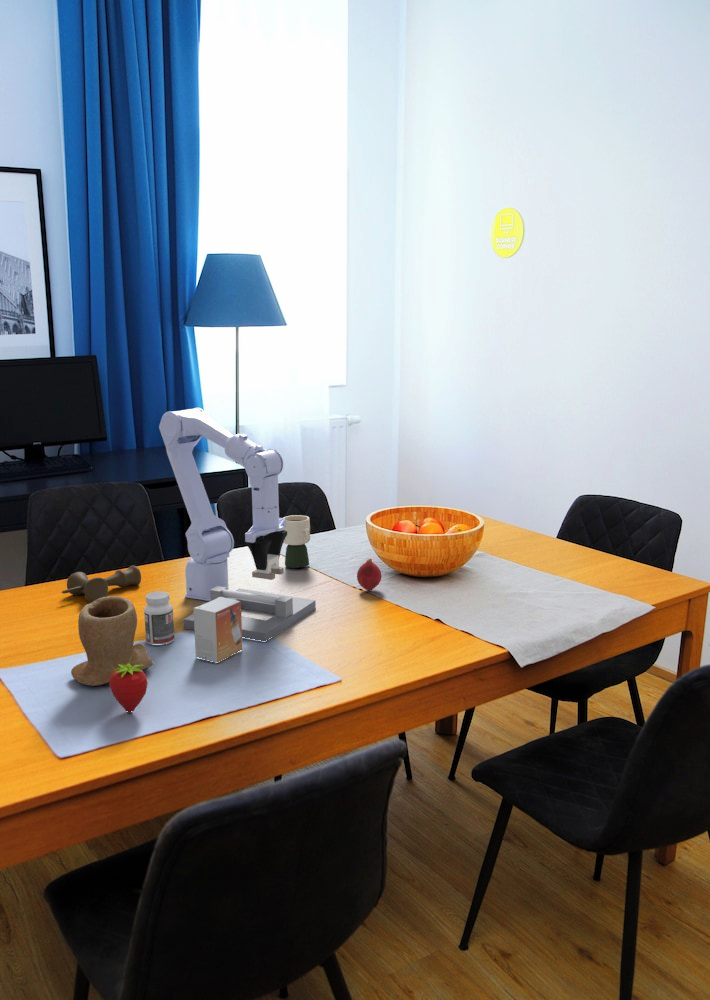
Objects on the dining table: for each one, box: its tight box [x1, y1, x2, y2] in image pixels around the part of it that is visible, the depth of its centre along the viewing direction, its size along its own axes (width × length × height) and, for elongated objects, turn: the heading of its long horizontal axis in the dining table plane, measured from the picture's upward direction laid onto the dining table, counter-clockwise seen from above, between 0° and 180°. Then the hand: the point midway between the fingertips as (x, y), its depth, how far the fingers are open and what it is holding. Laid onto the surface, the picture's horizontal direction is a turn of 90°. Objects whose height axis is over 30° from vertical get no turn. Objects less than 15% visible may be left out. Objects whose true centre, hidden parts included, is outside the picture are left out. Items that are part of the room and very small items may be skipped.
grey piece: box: [182, 586, 317, 641], centre depth 194 cm, size 20×22×6 cm
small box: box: [193, 597, 243, 663], centre depth 173 cm, size 8×6×10 cm
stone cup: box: [70, 595, 154, 687], centre depth 164 cm, size 15×12×15 cm
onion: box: [356, 558, 383, 592], centre depth 211 cm, size 6×6×8 cm
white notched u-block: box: [251, 554, 285, 581], centre depth 197 cm, size 5×5×4 cm
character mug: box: [283, 514, 311, 569], centre depth 229 cm, size 11×7×13 cm, turn 40°
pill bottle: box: [143, 590, 175, 645], centre depth 181 cm, size 6×6×10 cm
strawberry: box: [108, 656, 149, 713], centre depth 150 cm, size 6×8×10 cm
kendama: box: [61, 565, 142, 603], centre depth 211 cm, size 6×10×20 cm
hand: (267, 566), depth 196 cm, fingers closed on white notched u-block, 5 cm apart
